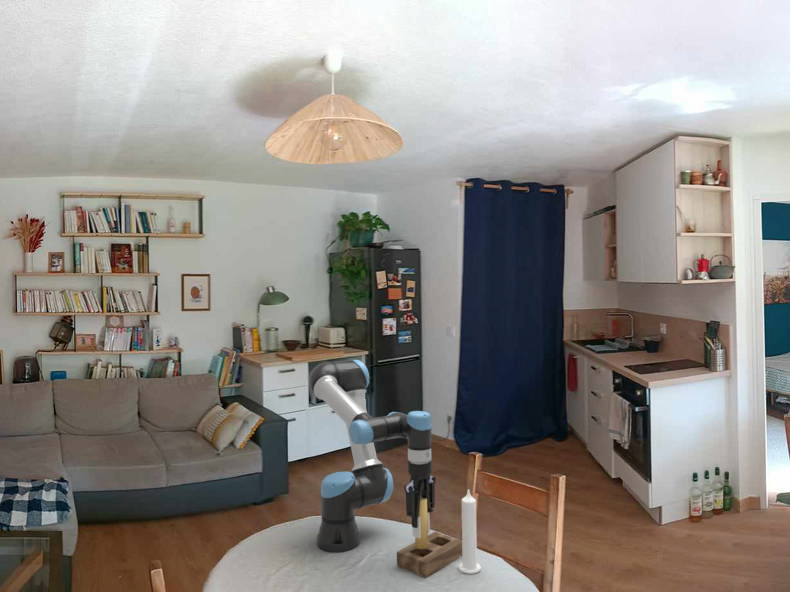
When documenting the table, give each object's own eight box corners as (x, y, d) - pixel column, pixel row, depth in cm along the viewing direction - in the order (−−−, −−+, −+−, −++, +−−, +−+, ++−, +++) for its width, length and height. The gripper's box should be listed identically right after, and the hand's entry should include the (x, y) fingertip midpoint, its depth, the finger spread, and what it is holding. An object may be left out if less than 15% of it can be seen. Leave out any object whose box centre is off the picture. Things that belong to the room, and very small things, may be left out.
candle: (480, 575, 176) (479, 494, 176) (457, 573, 177) (456, 492, 177) (481, 564, 183) (480, 486, 183) (459, 562, 184) (458, 485, 184)
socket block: (396, 565, 183) (396, 551, 183) (434, 544, 198) (434, 531, 198) (426, 577, 175) (426, 563, 175) (463, 554, 190) (463, 541, 190)
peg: (412, 546, 182) (411, 499, 182) (420, 542, 185) (419, 496, 185) (422, 550, 179) (421, 502, 179) (430, 545, 182) (429, 498, 182)
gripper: (412, 469, 173) (413, 546, 173) (445, 457, 186) (446, 529, 186) (393, 465, 178) (394, 540, 178) (427, 453, 191) (428, 523, 191)
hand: (421, 534), depth 182 cm, fingers closed on peg, 4 cm apart
